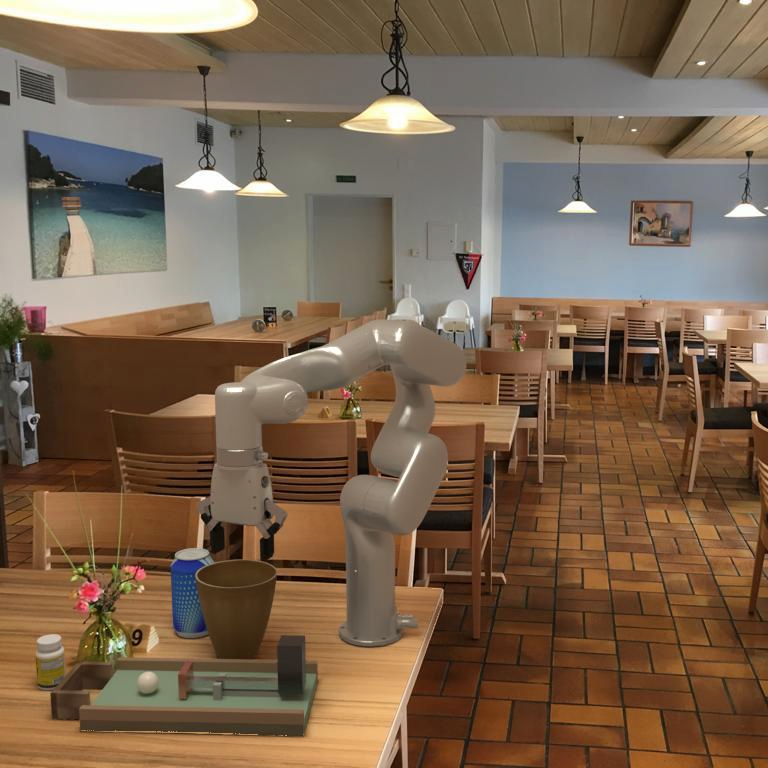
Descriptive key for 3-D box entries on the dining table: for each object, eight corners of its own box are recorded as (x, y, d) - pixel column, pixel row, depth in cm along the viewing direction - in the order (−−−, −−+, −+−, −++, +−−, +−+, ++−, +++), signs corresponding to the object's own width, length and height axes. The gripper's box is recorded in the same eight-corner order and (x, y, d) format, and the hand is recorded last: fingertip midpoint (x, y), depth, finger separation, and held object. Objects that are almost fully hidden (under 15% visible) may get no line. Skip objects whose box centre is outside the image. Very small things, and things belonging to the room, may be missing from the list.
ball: (162, 687, 147) (161, 668, 147) (155, 698, 144) (154, 677, 143) (141, 687, 147) (140, 667, 147) (134, 697, 144) (133, 677, 143)
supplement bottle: (42, 678, 155) (39, 633, 154) (69, 677, 155) (67, 632, 154) (33, 692, 150) (30, 645, 149) (62, 690, 151) (59, 644, 149)
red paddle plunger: (306, 686, 147) (305, 634, 145) (302, 701, 142) (301, 647, 141) (186, 684, 148) (184, 632, 146) (178, 698, 143) (176, 645, 142)
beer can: (221, 623, 178) (219, 547, 176) (209, 640, 170) (206, 561, 168) (181, 621, 179) (178, 545, 177) (167, 639, 171) (163, 560, 169)
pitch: (317, 681, 153) (317, 656, 153) (303, 736, 136) (302, 708, 135) (120, 677, 155) (119, 652, 155) (80, 731, 137) (78, 704, 137)
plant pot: (216, 680, 154) (213, 593, 152) (186, 649, 166) (183, 568, 164) (292, 659, 162) (291, 576, 160) (259, 631, 174) (257, 553, 172)
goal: (113, 686, 152) (112, 662, 151) (88, 720, 141) (87, 694, 140) (79, 686, 152) (78, 661, 152) (51, 719, 141) (50, 693, 140)
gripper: (295, 456, 147) (297, 555, 150) (208, 448, 154) (211, 542, 156) (273, 466, 140) (275, 569, 143) (183, 457, 147) (186, 555, 149)
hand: (242, 555), depth 150 cm, fingers open, 9 cm apart
